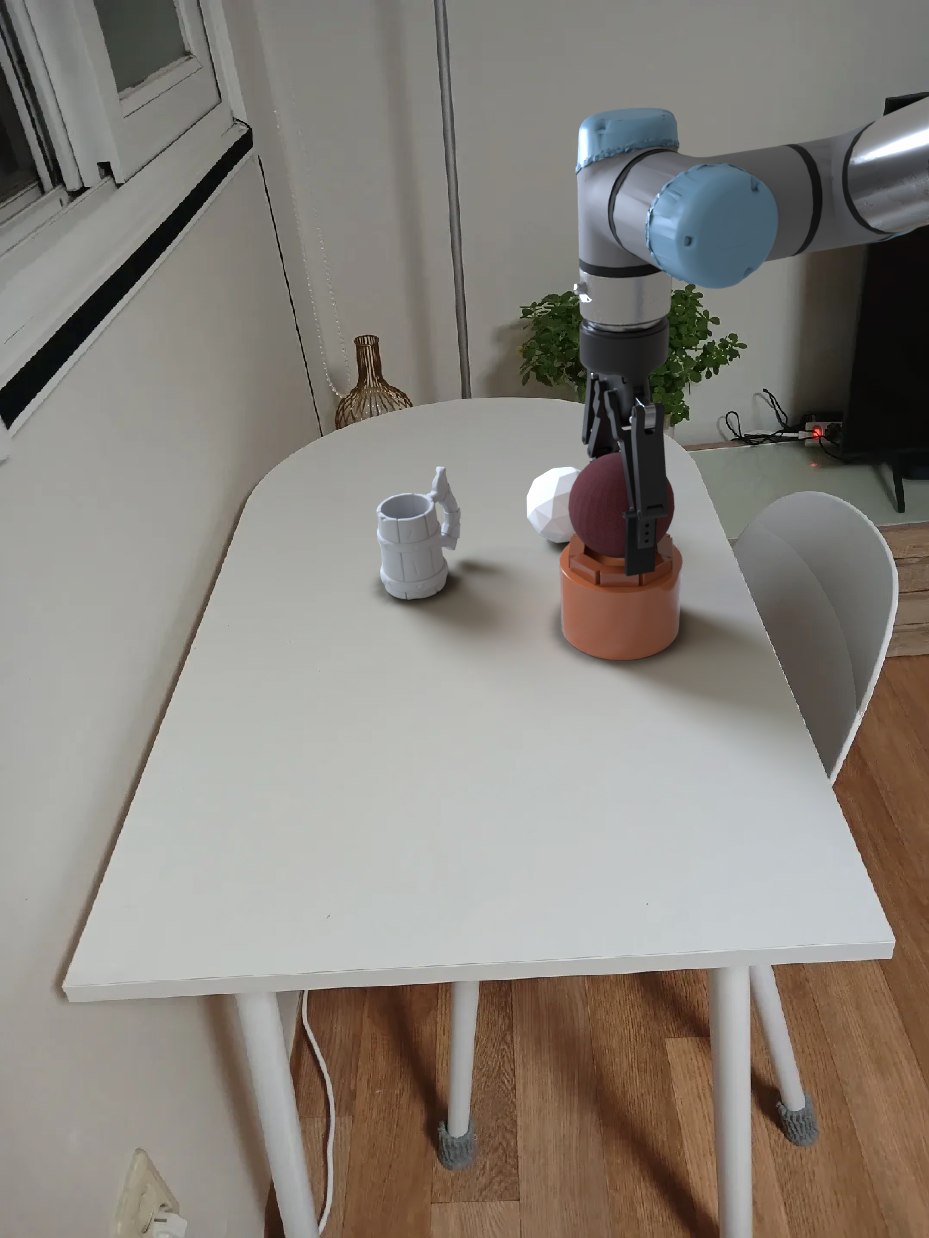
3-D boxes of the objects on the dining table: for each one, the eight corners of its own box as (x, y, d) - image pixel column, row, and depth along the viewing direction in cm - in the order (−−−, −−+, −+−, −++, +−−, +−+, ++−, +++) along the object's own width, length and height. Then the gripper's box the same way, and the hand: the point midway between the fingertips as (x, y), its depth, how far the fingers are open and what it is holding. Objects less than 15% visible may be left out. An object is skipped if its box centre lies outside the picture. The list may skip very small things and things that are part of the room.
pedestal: (680, 662, 93) (685, 580, 87) (557, 658, 95) (554, 578, 89) (677, 593, 102) (681, 516, 97) (565, 591, 104) (563, 515, 99)
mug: (368, 588, 108) (352, 494, 101) (437, 543, 115) (427, 452, 108) (417, 609, 104) (404, 513, 97) (486, 561, 111) (478, 468, 104)
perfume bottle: (597, 550, 107) (626, 512, 117) (575, 474, 104) (606, 441, 114) (528, 561, 112) (561, 523, 121) (505, 488, 109) (541, 455, 118)
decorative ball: (567, 527, 98) (565, 437, 92) (665, 522, 97) (669, 431, 91) (571, 580, 90) (569, 485, 84) (679, 575, 89) (684, 479, 83)
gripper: (545, 287, 89) (552, 498, 102) (625, 369, 71) (621, 614, 83) (622, 276, 90) (619, 486, 103) (721, 354, 72) (703, 599, 84)
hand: (620, 543), depth 93 cm, fingers closed on decorative ball, 10 cm apart
